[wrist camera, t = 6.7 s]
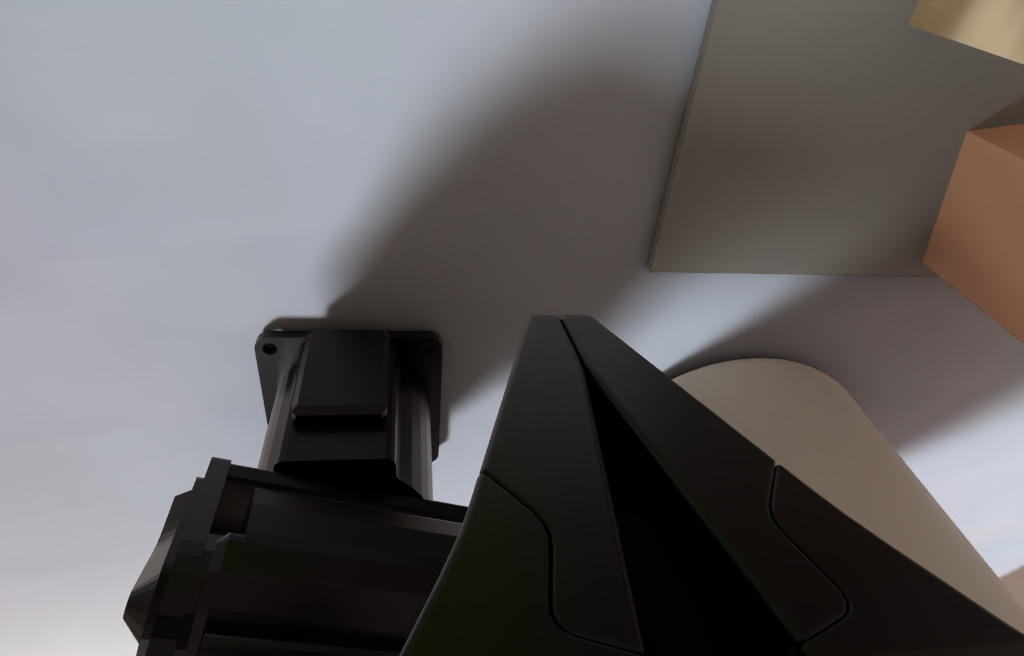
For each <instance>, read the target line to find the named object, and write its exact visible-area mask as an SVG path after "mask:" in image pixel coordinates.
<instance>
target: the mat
mask: <svg viewBox="0 0 1024 656" xmlns="http://www.w3.org/2000/svg"><path fill="white" fill-rule="evenodd" d="M918 2H919V0H712V4H711V8H710V12H709V16H708V20H707V25H706V29H705V33H704V37H703V41H702V45H701V49H700V53H699V57H698V61H697V65H696V69H695V74H694V78H693V82H692V86H691V90H690V94H689V98H688V102H687V106H686V110H685V114H684V119H683V123H682V127H681V131H680V135H679V139H678V143H677V147H676V151H675V155H674V159H673V163H672V168H671V172H670V176H669V180H668V184H667V188H666V192H665V196H664V200H663V204H662V208H661V213H660V217H659V221H658V225H657V229H656V233H655V237H654V241H653V245H652V249H651V253H650V257H649V262H648V268H649V270H650V272H689V273H750V274H812V275H874V276H935V277H940V276H939V275H937V274H936V273H935V272H934V271H932V270H931V269H930V268H929V267H927V266H926V265H925V264H924V263H922V261H923V258H924V255H925V252H926V249H927V246H928V243H929V240H930V238H931V235H932V232H933V229H934V226H935V223H936V220H937V217H938V214H939V211H940V208H941V205H942V202H943V200H944V197H945V194H946V191H947V188H948V185H949V182H950V179H951V176H952V173H953V170H954V167H955V165H956V162H957V159H958V156H959V153H960V150H961V147H962V144H963V141H964V138H965V135H966V132H967V131H972V130H980V129H987V128H995V127H1003V126H1011V125H1018V124H1024V64H1021V63H1018V62H1015V61H1012V60H1009V59H1006V58H1003V57H1000V56H997V55H995V54H992V53H989V52H986V51H983V50H980V49H977V48H974V47H971V46H968V45H966V44H963V43H960V42H957V41H954V40H951V39H948V38H945V37H942V36H939V35H936V34H934V33H931V32H928V31H925V30H922V29H919V28H916V27H913V26H910V25H909V23H910V21H911V19H912V16H913V14H914V11H915V9H916V6H917V4H918Z"/></svg>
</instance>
